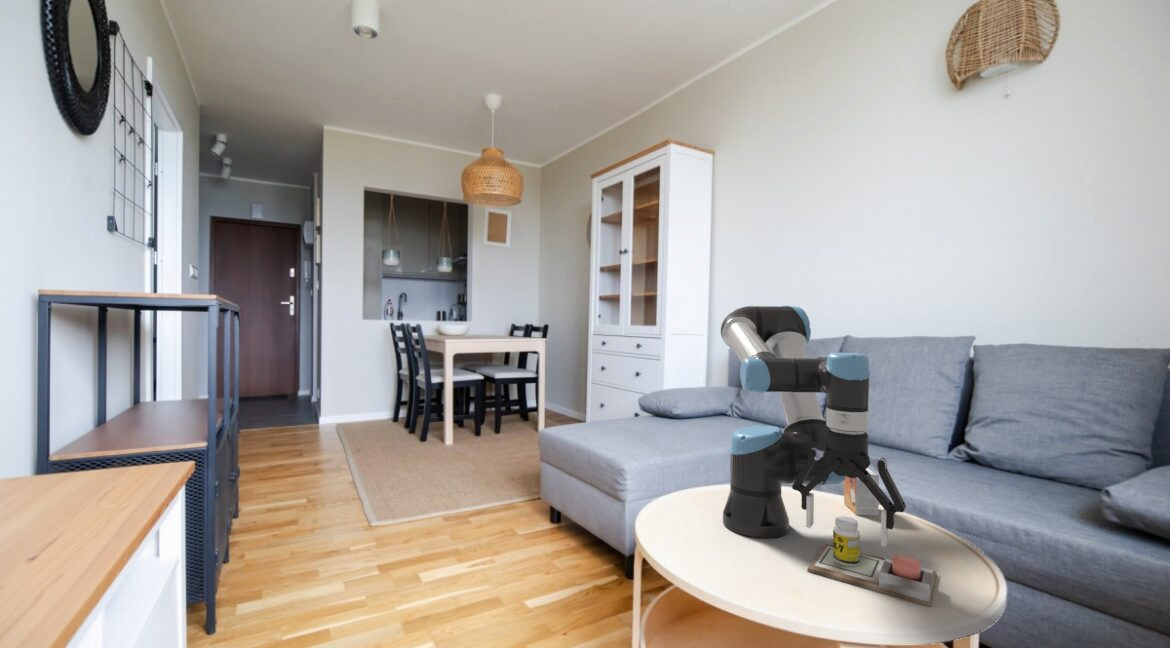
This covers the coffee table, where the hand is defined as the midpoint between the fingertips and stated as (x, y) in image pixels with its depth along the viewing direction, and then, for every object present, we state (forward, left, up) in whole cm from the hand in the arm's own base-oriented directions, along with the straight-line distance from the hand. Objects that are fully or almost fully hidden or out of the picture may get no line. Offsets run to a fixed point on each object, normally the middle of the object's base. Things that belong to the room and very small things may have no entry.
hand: (845, 534), depth 102 cm
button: (+11, -4, -3) cm, 12 cm away
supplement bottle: (0, -1, -5) cm, 5 cm away
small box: (-3, +35, -6) cm, 36 cm away
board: (+5, -1, -6) cm, 8 cm away
